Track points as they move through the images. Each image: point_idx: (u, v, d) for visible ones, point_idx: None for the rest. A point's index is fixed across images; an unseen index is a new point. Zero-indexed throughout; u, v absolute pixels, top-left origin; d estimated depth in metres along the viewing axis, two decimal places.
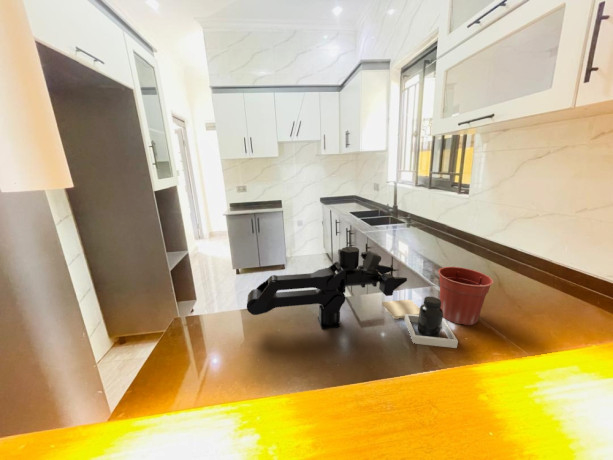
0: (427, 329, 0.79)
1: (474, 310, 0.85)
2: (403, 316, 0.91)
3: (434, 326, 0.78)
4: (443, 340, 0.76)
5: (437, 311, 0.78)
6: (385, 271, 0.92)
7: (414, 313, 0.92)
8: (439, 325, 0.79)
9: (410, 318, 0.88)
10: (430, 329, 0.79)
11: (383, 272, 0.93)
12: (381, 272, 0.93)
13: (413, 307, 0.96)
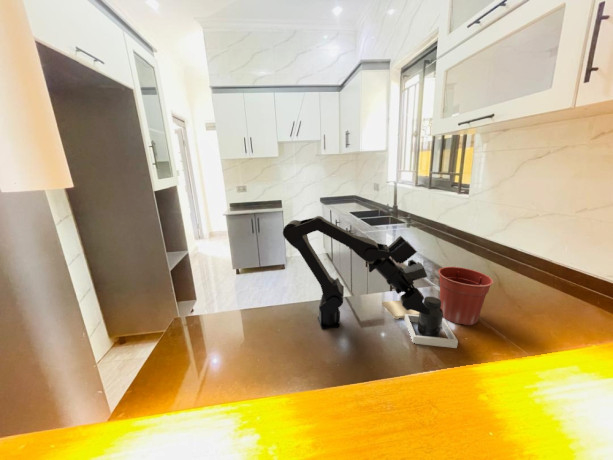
0: (427, 329, 0.79)
1: (474, 310, 0.85)
2: (403, 316, 0.91)
3: (434, 326, 0.78)
4: (443, 340, 0.76)
5: (437, 311, 0.78)
6: None
7: (414, 313, 0.92)
8: (439, 325, 0.79)
9: (410, 318, 0.88)
10: (430, 329, 0.79)
11: None
12: None
13: None
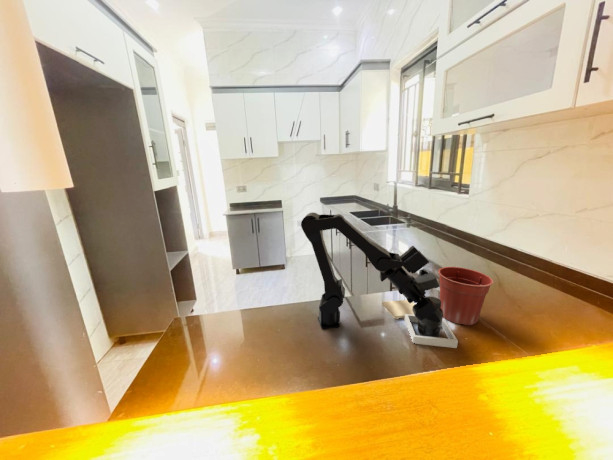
0: (427, 329, 0.79)
1: (474, 310, 0.85)
2: (403, 316, 0.91)
3: (434, 326, 0.78)
4: (443, 340, 0.76)
5: (437, 311, 0.78)
6: None
7: None
8: (439, 325, 0.79)
9: (410, 318, 0.88)
10: (430, 329, 0.79)
11: None
12: None
13: None
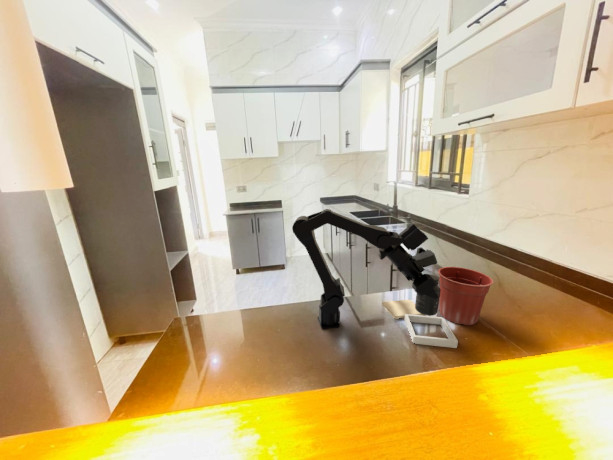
0: (426, 306, 0.80)
1: (474, 310, 0.85)
2: (403, 316, 0.91)
3: (432, 303, 0.79)
4: (443, 340, 0.76)
5: (435, 287, 0.79)
6: None
7: (414, 313, 0.92)
8: (437, 301, 0.80)
9: (410, 318, 0.88)
10: (429, 306, 0.80)
11: None
12: None
13: (413, 307, 0.96)
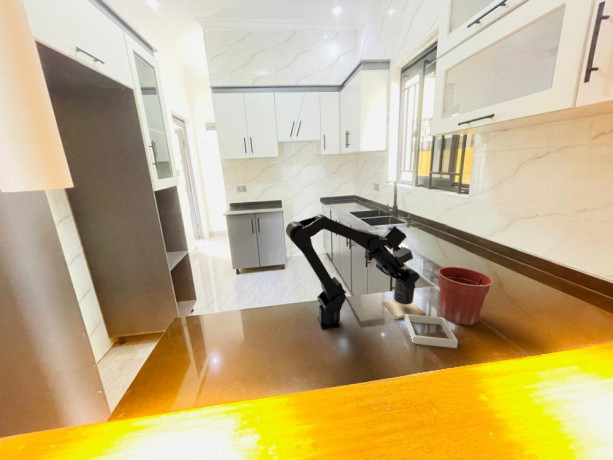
0: (406, 297, 0.91)
1: (474, 310, 0.85)
2: (403, 316, 0.91)
3: (411, 293, 0.91)
4: (443, 340, 0.76)
5: None
6: None
7: (414, 313, 0.92)
8: (413, 291, 0.92)
9: (410, 318, 0.88)
10: (408, 296, 0.91)
11: (394, 276, 0.96)
12: (393, 275, 0.96)
13: (413, 307, 0.96)
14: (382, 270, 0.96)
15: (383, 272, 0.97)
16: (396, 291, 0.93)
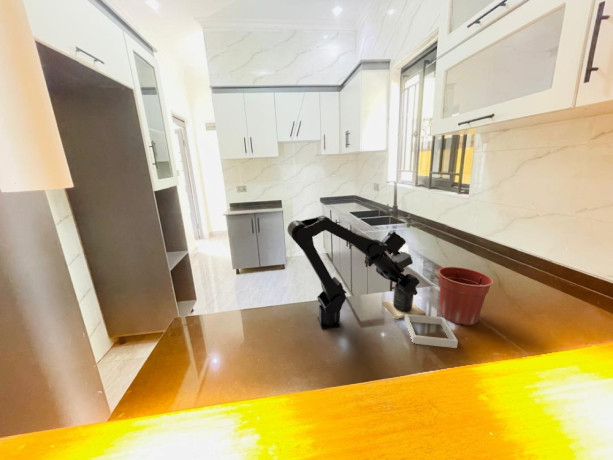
0: (405, 304, 0.92)
1: (474, 310, 0.85)
2: (403, 316, 0.91)
3: (410, 300, 0.91)
4: (443, 340, 0.76)
5: None
6: (394, 280, 0.97)
7: (414, 313, 0.92)
8: (412, 298, 0.92)
9: (410, 318, 0.88)
10: (407, 303, 0.91)
11: None
12: None
13: (413, 307, 0.96)
14: (382, 275, 0.96)
15: (382, 275, 0.98)
16: (395, 298, 0.94)
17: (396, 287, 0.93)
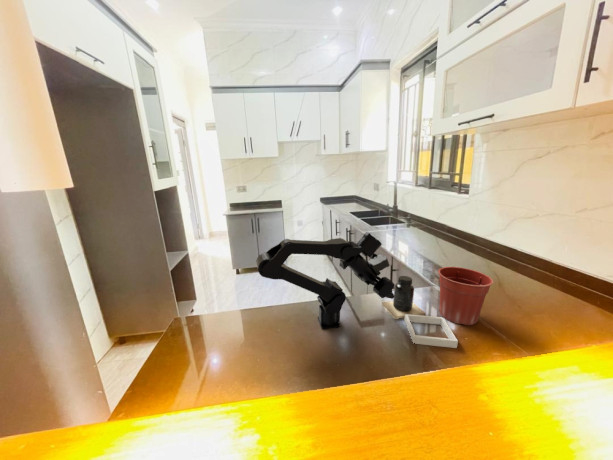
0: (405, 304, 0.92)
1: (474, 310, 0.85)
2: (403, 316, 0.91)
3: (410, 300, 0.91)
4: (443, 340, 0.76)
5: (410, 286, 0.92)
6: (373, 283, 0.95)
7: (414, 313, 0.92)
8: (412, 298, 0.92)
9: (410, 318, 0.88)
10: (407, 303, 0.91)
11: (371, 282, 0.95)
12: None
13: (413, 307, 0.96)
14: (360, 277, 0.94)
15: (360, 278, 0.96)
16: (395, 298, 0.94)
17: (396, 287, 0.93)
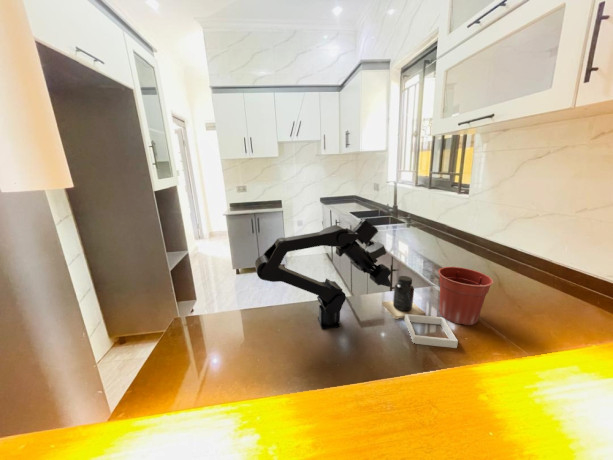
0: (405, 304, 0.92)
1: (474, 310, 0.85)
2: (403, 316, 0.91)
3: (410, 300, 0.91)
4: (443, 340, 0.76)
5: (410, 286, 0.92)
6: (370, 272, 0.94)
7: (414, 313, 0.92)
8: (412, 298, 0.92)
9: (410, 318, 0.88)
10: (407, 303, 0.91)
11: (368, 271, 0.93)
12: None
13: (413, 307, 0.96)
14: (356, 266, 0.92)
15: (356, 267, 0.94)
16: (395, 298, 0.94)
17: (396, 287, 0.93)
